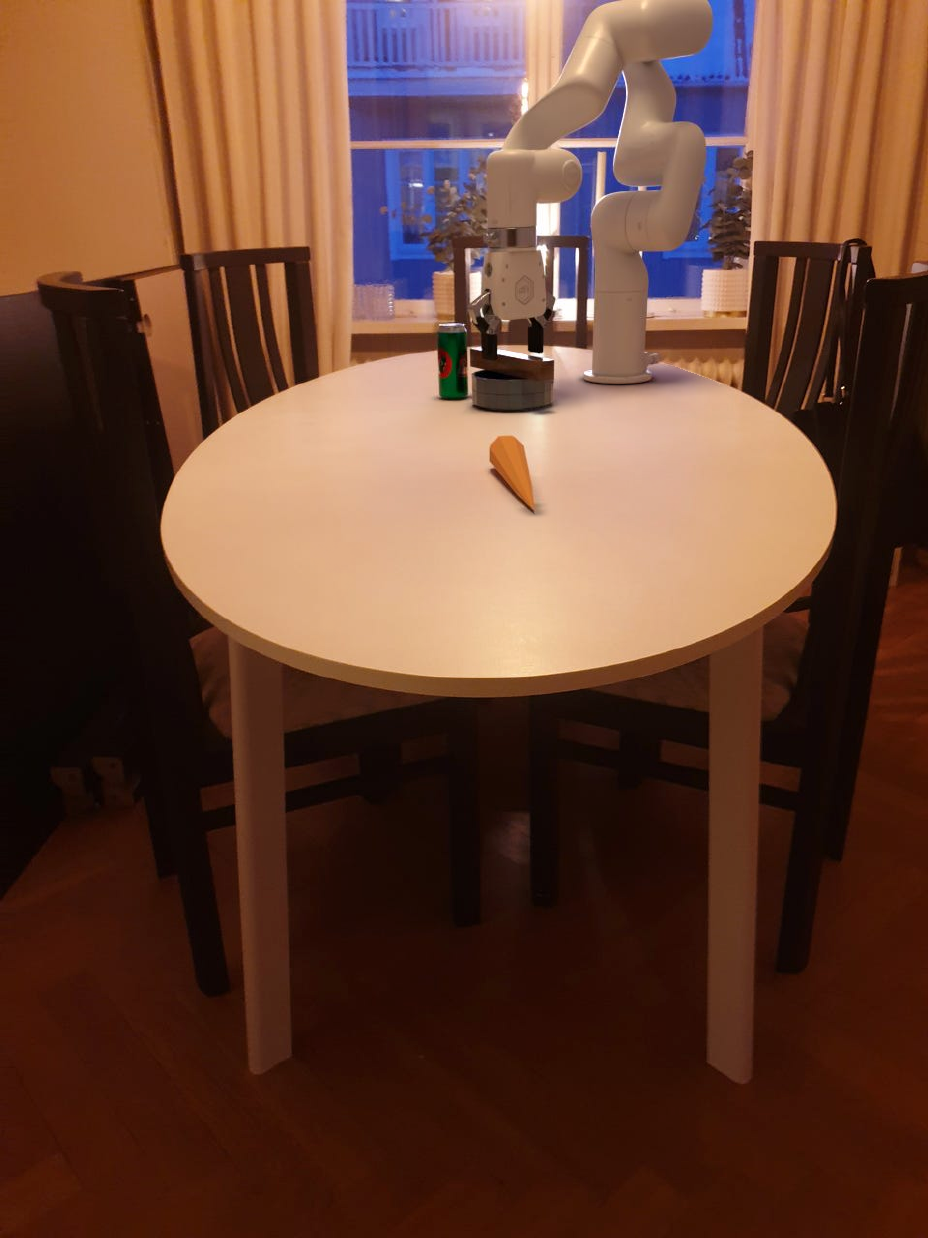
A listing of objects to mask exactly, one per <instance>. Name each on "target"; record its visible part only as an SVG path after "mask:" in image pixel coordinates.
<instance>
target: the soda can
mask: <svg viewBox="0 0 928 1238" xmlns="http://www.w3.org/2000/svg"><path fill="white" fill-rule="evenodd" d="M465 325H466V324H464V323H458V322H457V323H455V322H454V323H453V322H452V323H451V322H450V323H441V324H438V329H437V331H436V347H437V348H436V351H437V352H436V353H437V354H436V355H437V374H438V376H437V380H438V396H439V397H440V399H442V400H448V401H457V400H463V399H466V398H467V397H468V395H469V364H468V363H469V362H468V358H469V357H468V330H467V328H465Z"/></svg>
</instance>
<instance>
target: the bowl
mask: <svg viewBox="0 0 928 1238" xmlns="http://www.w3.org/2000/svg"><path fill="white" fill-rule="evenodd" d="M554 381H555V380H547V381H540V382H538V381H533V380H529V379H524V378H520V377H515V376H511V375H506V374H502V373H497V372H492V371H488V370H483V369H479V370H476V371H474V372H472V373H471V402H472V404H473V405H475V406H478V407H480V408H481V409H484V410H490V411H497V412H521V411H523V412H524V411H532V410H538V409H541V408H543V407H545V406H547V405H549V404H552V403H553V402H554V387H555V385H554V383H555V382H554Z"/></svg>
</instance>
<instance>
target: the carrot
mask: <svg viewBox="0 0 928 1238" xmlns="http://www.w3.org/2000/svg"><path fill="white" fill-rule="evenodd" d="M489 463H490V464H491V465H492V466H493V467H494V469H495V470H496V471H497V473H498V474H499V475H500V476H501V478H503V480H504V481H505V482H506V483H507V484H508V485H509V487H510V488H511V489H512V490H513V492H514V493H515V494H516V495H517V496H518V498H519V499H521V500H522V501H523V502H524V504H526V505H527V506H528V507H529V508H530V509H531V510H533V511H535V504H534V492H533V491H534V490H533V485H532V479H531V475H530V469H529V464H528V461H527V455H526V450H525V445H524V444H522V442H520V440H518V439H517V437H515V436H513V435H498V436H497V437H496V438H495V439H494V441H492V442H491V443H490V445H489Z"/></svg>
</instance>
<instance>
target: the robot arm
mask: <svg viewBox="0 0 928 1238" xmlns="http://www.w3.org/2000/svg"><path fill="white" fill-rule="evenodd" d="M713 28H714V14H713V9H712V6H711V4H710V2H709V1H708V0H616V1H610V2H607V3H604V4H602V5H599V6H598V7H596V8H595V9H593V11H591V12H590V14H589V15H588V17H587V18H586V20H585V22H584V24H583V26H582V28H581V29H580V33H579V35H578V36H577V38H576V41H575V43H574V45H573V48H572V50H571V52H570V54H569V56H568V58H567V61H566V62H565V65H564V67H563V68H562V71H561V73H560V75H559V78H558V79H557V81H556V83H555V84H554V85H553V86H552V87H551V88H549V89H548V90H547V91H546V92H545V93H544V94H542V95H541V96H540V97H539V98H538V99H537V100H536V101H535V102H534V103H533V104H532V105H531V106H530V107H529V108H528V109H527V110H525V112H524V113H523V114H522V115H520V117H518V119H517V120H516V122H515V123H514V124H513V126H511V129H510V130H509V132H508V134H507V136H506V138H505V140H504V142H503V145H502V147H501V148H500V150H495V151H492V152H491V153H489V154H488V156H487V158H486V168H485V170H486V216H487V217H486V218H487V219H486V220H487V225H486V226H487V230H486V231H487V233H485V234H484V235H483V237H482V240H483V243H484V244H487V251H485V252H484V257H483V264H482V272H481V273H482V274H481V287H480V288H481V289H480V295H478V296H477V297H476V298H475V299H473V300H472V301H471V302H470V303H468V305H467V306H466V310H467V312H468V315H469V317H470V319H471V323H472V324H473V326H474V327H475V328H476V329H477V331H476V332H478V333H479V334H480V344H481V346H480V347H481V351H482V358H483V359H486V360H492V361H494V360H497V358H498V350H499V349H498V333H495V331H496V329H497V328H498V326H499V324H500V322H501V321H514V320H524V319H526V320H527V321H528V322H529V324H530V326H528V327H527V352H528V353H533V354H544V351H545V350H544V347H545V346H544V344H545V343H544V340H545V339H544V338H545V335H544V334H545V333H544V330H545V328H546V327H547V326H548V321H549V319H550V318H551V316H552V314H553V312H552V311H553V310H554V309H553V308H554V306H555V303H556V301H557V300H556V296H554V295H553V294H551V293H550V292H548V291H547V289H546V288H547V287H546V275H545V266H544V260H543V253H542V250H541V249H539V248H538V228H537V226H538V204H540V205H543V204H559V203H563V202H566V201H568V200H570V199H571V198H573V197H574V196H575V195H576V194H577V192H578V191H579V190H580V187H581V185H582V183H583V168H582V164H581V162H580V160H579V158H578V157H577V156H576V155H575V154H574V153H573V152H571V151H569V150H567V149H563V148H550V147H551V146H553V145H554V144H555V143H556V142H558V141H559V140H561V139H563V138H564V137H567V136H568V135H570V134H572V133H574V132H577V131H579V130H580V129H583V128H584V127H586V126H587V125H589V124H591V123H592V122H594V121H595V120H597V119H598V118H599V117H600V116H601V115H602V114H603V113H604V112H605V110H606V108H607V105H608V103H609V101H610V99H611V97H612V95H613V93H614V90H615V88H616V86H617V83H618V81H619V79H620V77H621V74H622V75H623V80H624V83H625V90H626V93H625V94H626V97H625V104H624V109H623V115H622V119H621V124H620V127H619V133H618V136H617V141H616V146H615V149H614V155H613V162H612V171H613V176H614V177H615V180H616V181H617V182H618V183H620V184H621V185H623V186H627V187H639V188H642V187H643V188H645V187H660V189H656V190H655V189H654V190H626V191H616V192H612V193H609V194H605V195H604V196H602V197H601V198H600V199H599V200H598V201H597V202H596V203H595V205H594V206H593V209H592V211H591V214H590V234H591V239H592V247H593V257H594V290H593V291H594V293H593V295H594V296H593V300H594V301H593V324H592V325H593V326H592V327H593V328H592V356H591V357H592V358H591V369H587V370H585V371H584V372H583V374H582V375H583V377H582V378H583V379H584V380H585V381H587V382H590V383H597V384H606V385H607V384H610V385H625V384H626V385H627V384H638V383H639V384H640V383H644V382H648V381H650V380H652V377H653V372H652V371H650V370H648V367H649V366H651V365H652V366H653V365H657V364H660V362H661V355H660V354H659V353H657V352H656V353H650V354H649V352H648V351H646V334H647V333H646V332H647V319H648V317H647V316H648V315H647V313H648V298H649V273H648V269H647V266H646V264H645V262H644V260H643V259H642V256H641V254H640V252H669V251H674V250H676V249H678V248H680V247H681V246H682V245H683V244H684V243H685V241H686V239H687V237H688V235H689V232H690V230H691V227H692V222H693V218H694V215H695V210H696V207H697V201H698V198H699V194H700V189H701V186H702V181H703V177H704V172H705V169H706V162H707V142H706V137H705V135H704V132H703V130H702V129H701V128H700V126H699V125H697V124H696V123H694V122H691V121H685V120H683V121H682V120H681V121H679V120H678V121H674V116H675V111H676V106H677V92H676V88H675V85H674V84H673V81H672V79H671V78H670V76H669V74H668V73H667V71H666V69H665V68H664V66H663V64H662V62H661V61H664V60H671V59H678V58H686V57H690V56H691V57H692V56H694V55H697V54H699V53H700V52H701V51H703V49H704V48H705V47H706V46H707V44H708V43H709V42H710V38H711V36H712V33H713Z"/></svg>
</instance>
